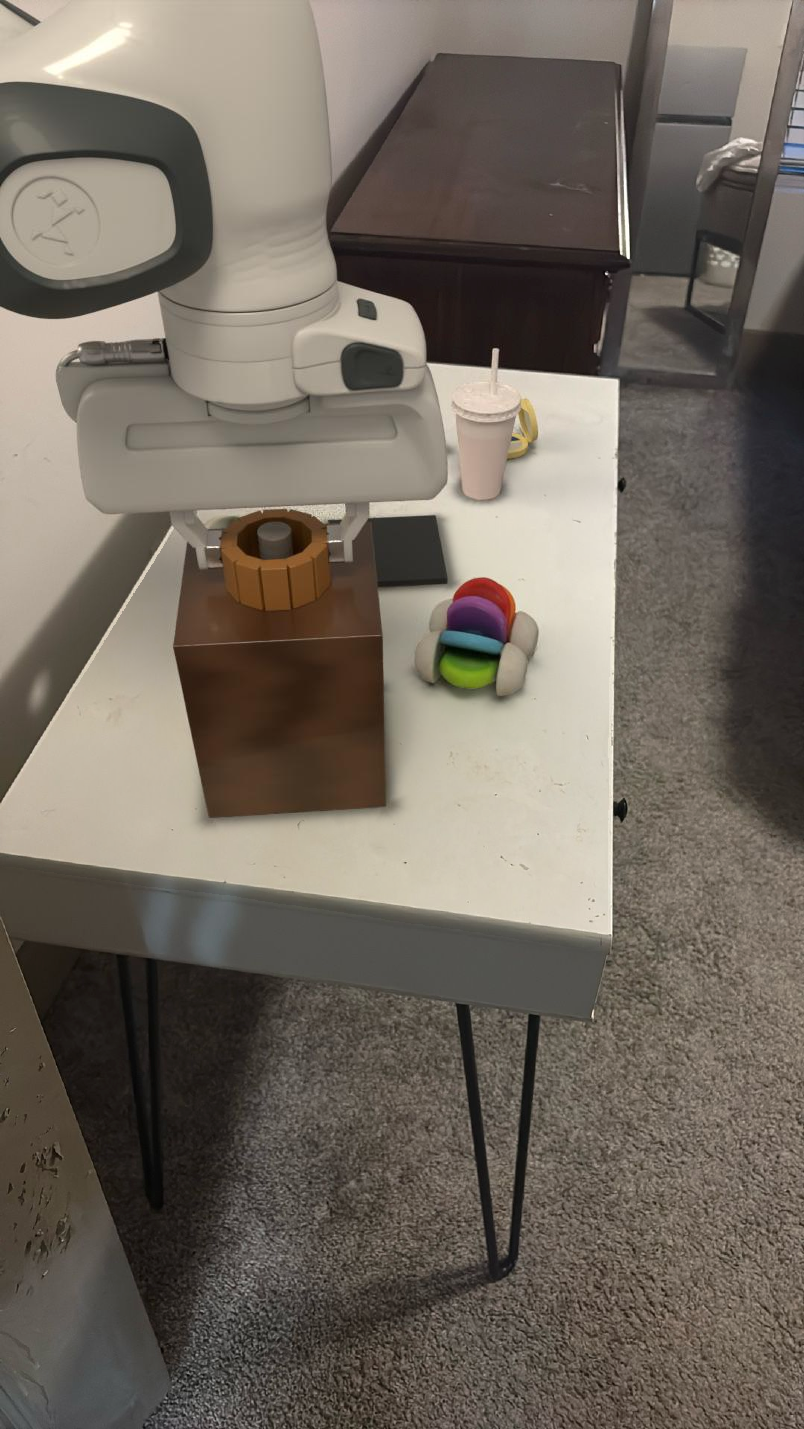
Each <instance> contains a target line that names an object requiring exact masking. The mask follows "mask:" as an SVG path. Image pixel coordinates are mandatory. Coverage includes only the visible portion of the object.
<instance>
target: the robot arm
mask: <svg viewBox="0 0 804 1429" xmlns="http://www.w3.org/2000/svg"><path fill="white" fill-rule="evenodd" d="M319 39H320V38H319V34H318V29H317V25H316V20H315V15H314V12H313V8H312V5H311V1H310V0H69V2H67V3H66V4H64V5H63V6H62V7H61V8H59V9H57V11H55V12H54V13H52V14H51V15H49V16H48V17H47V18H45V19H44V20H42V21H41V20H39V19H37V18H36V17H34V16H33V15H31V14H29V13H27V12H26V11H25V10H23V9H21V8H20V7H18V6H17V5H15V4H13V3H11V2H9V1H8V0H0V308H2V309H4V310H7V311H9V312H11V313H15V314H17V315H22V316H26V317H29V318H34V319H35V318H36V319H42V320H65V319H72V318H78V317H83V316H85V315H90V314H93V313H94V314H95V313H97V312H100V311H104V310H108V309H111V308H113V307H117V306H120V305H123V304H126V303H129V302H133V301H135V300H139V299H142V298H144V297H148V296H150V295H152V294H155V293H157V297H158V305H159V309H160V315H161V321H162V326H163V327H162V328H163V333H164V337H161V338H160V337H159V338H157V337H156V338H140V339H138V338H137V339H129V340H125V341H124V340H123V341H114V342H112V341H111V342H105V340H88V341H84V342H81V343H78V345H77V349H74V350H72V351H70V352H68V353H66V354H65V355H64V356H63V357H62V358H61V359H60V360H59V362H58V364H57V366H56V369H55V382H56V386H57V390H58V395H59V399H60V402H61V406H62V407H63V410H64V411H65V413H66V414H67V416H68V417H69V418H70V419H71V421H73V422H74V423H75V424H76V446H77V455H78V456H77V457H78V465H79V472H80V479H81V485H82V489H83V494H84V497H85V499H86V500H87V502H89V503H90V504H91V506H93V507H94V508H96V509H97V510H98V511H99V512H100V513H102V514H104V515H124V514H125V515H126V514H128V515H129V514H147V513H149V514H150V513H167V512H168V513H169V518H170V523H171V527H172V528H174V529H175V531H177V533H178V534H180V536H181V537H182V538H183V539H184V540H185V541H186V543H187V542H188V543H189V544H190V545H191V546H192V547H193V548H196V554H197V559H198V565H199V569H200V570H203V569H222V568H223V561H222V559H221V556H222V554H221V538H222V530H210V531H208V529H209V528H207V526H206V525H205V524H204V523H203V522H202V521H201V519H200V518H199V516H197V513H198V511H211V510H234V509H235V510H237V509H256V508H278V507H299V506H300V507H301V506H303V507H304V506H323V505H324V506H326V505H342V504H343V505H344V504H345V505H344V507H345V508H344V509H345V514H344V516H343V518H342V521H341V523H340V524H338V525H327V534H328V535H327V541H328V551H329V556H328V558H329V563H343V562H344V560H345V563H346V562H353V553H352V540H354V539H355V538H356V536H357V535H358V533H359V532H360V530H361V529H362V527H363V526H364V524H365V523H366V521H367V520H368V518H371V514H370V512H371V510H370V503H389V502H391V503H392V502H408V501H409V502H410V501H411V502H412V501H413V502H414V501H430V500H434V499H435V498H436V497H437V496H438V495H439V494H440V493H441V492H442V490H443V489H444V488H445V487H446V486H447V484H448V478H449V477H448V476H449V475H448V474H449V468H448V450H447V440H446V432H445V427H444V422H443V415H442V410H441V405H440V400H439V396H438V392H437V387H436V384H435V380H434V377H433V373H432V371H431V369H430V368H429V365H428V364H427V342H426V336H425V331H424V329H423V328H424V327H423V325H422V323H421V320H420V317H419V316H418V314H417V312H416V310H415V309H414V307H413V305H411V304H410V303H409V302H407V301H405V300H403V299H399V298H397V297H393V296H389V295H385V294H382V293H377V292H375V291H371V290H368V289H365V288H361V287H358V286H355V285H351V284H349V283H345V282H342V281H339V280H338V270H337V262H336V259H335V254H334V252H333V249H332V247H331V243H330V240H329V234H328V229H327V228H328V227H327V209H328V203H329V199H330V194H331V190H332V184H333V167H332V166H333V165H332V163H333V162H332V145H331V132H330V121H329V120H330V119H329V109H328V108H329V107H328V98H327V89H326V81H325V73H324V65H323V59H322V52H321V45H320V40H319ZM75 360H78V361H75Z"/></svg>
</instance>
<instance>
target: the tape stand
mask: <svg viewBox="0 0 804 1429" xmlns="http://www.w3.org/2000/svg"><path fill="white" fill-rule="evenodd" d="M323 524H324V525H325V526H326V527H327V525H338V524H340V523H329V524H328V523H323ZM226 528H227V527H223V528H221V527H220V528H207V529H208V531H210V530H222V534H223V531H224V530H225V529H226ZM257 535H258V543H259V551H260V559H262V560H272V559H286V558H288V557H291V556H293V545H292V534H291V528H290V527H289V525H287V524H285V523H282V522H269V523H266V524H263V525H262V526H260V527H259V529H258V531H257ZM184 553H185V554H184V559H183V560H184V562H183V569H182V576H181V583H180V590H179V596H178V605H177V613H176V622H175V629H174V634H173V635H174V636H173V641H172V642H173V644H172V649H173V654H174V659H175V664H176V668H177V673H178V677H179V683H180V686H181V692H182V697H183V701H184V706H185V711H186V716H187V721H188V725H189V726H188V727H189V730H190V735H191V740H192V745H193V750H194V754H195V759H196V764H197V768H198V774H199V780H200V783H201V788H202V793H203V798H204V802H205V807H206V812H207V817H208V818H224V817H225V818H226V817H239V816H240V817H241V816H242V817H243V816H255V815H256V816H257V815H271V814H288V813H289V814H290V813H303V812H305V813H307V812H321V811H336V810H337V811H338V810H353V809H355V810H356V809H369V808H385V807H387V776H386V774H387V773H386V772H387V771H386V770H387V769H386V727H385V726H386V725H385V722H386V721H385V717H386V716H385V676H384V675H385V674H384V673H385V672H384V669H385V668H384V634H383V633H384V632H383V624H382V613H381V604H380V596H379V595H380V594H379V587H378V584H377V574H376V565H375V555H374V546H373V536H372V526H371V522H366V523H365V524H364V526H363V527H362V529H361V530H360V532H359V533H358V535H357V536H356V538H355V539H354V540H352V553H353V562H346V563H345V560H344V562H343V563H330V569H331V583H330V586H329V587H328V588H327V589H326V590H325V592H324V593H323V594H322V595H321V596H320V597H319V598H315V599H316V600H315V601H313V602H310V603H308V604H305V605H303V606H300V607H298V608H293V607H292V606H291V610H276V611H266V610H265V608H264V609H263V610H259V609H256V608H252V607H249V606H246V605H243V604H241V602H237V601H236V600H235V598H234V597H233V596H232V595H231V594H230V593H229V592H228V591H227V588H226V585H225V578H224V572H223V568H222V569H203V570H200V569H199V565H198V559H197V554H196V548H193V547H192V546H191V545H190V544H189V543H188V542H187V541H186V546H185V552H184Z"/></svg>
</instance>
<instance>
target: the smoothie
mask: <svg viewBox="0 0 804 1429" xmlns="http://www.w3.org/2000/svg"><path fill="white" fill-rule="evenodd" d="M491 354H492V355H491V369H490V370H491V372H490V381H487V380H485V381H484V380H483V381H481V380H480V381H473V382H468V383H465V384H463V385H460V386H459V387H458V388H456V389H455V390H454V391H453V392H452V396H451V404H450V406H451V410H452V411H453V412H454V413H455V414H454V415H455V427H456V436H457V446H458V457H459V468H460V479H461V489H462V490H461V491H462V493H463V494H464V495H465V496H466V497H468V498H471V499H472V500H478V501H486V500H487V501H488V500H491V499H494V498H497V497H498V496H499V495H500V493H501V490H502V484H503V480H504V476H505V471H506V466H507V461H508V458H507V457H508V452H509V447H510V443H511V438H512V433H514V429H515V424H516V419H517V415H518V413H519V412H520V410H521V399H522V396H521V393H520V392H519V391H518V389H516V388H514V387H512V386H510V385H508V384H506V383H502V382H498V369H499V354H500V349H499V348H497V347H495V348H492V352H491Z"/></svg>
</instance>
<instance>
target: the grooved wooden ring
mask: <svg viewBox="0 0 804 1429" xmlns="http://www.w3.org/2000/svg"><path fill="white" fill-rule="evenodd" d="M269 522H282V523H285V524H287V525H289V527H290V528H291V534H292V545H293V556H291V557H288V558H286V559H272V560H262V559H260V551H259V543H258V535H257V531H258V529H259V527H260V526H262V525H263V524H266V523H269ZM324 524H325V523H323V522H322V521H321V520H320V519H319V518H317V517H316V516H315V515H312V514H311V513H308V512H303V511H300V510H297V509H289V510H288V509H287V508H273V509H271V508H270V509H263V510H262V511H261V510H257V511H253V512H251V513H248V514H245V515H242V516H239V517H238V519H234V521H232V522H231V523H230V524H229V525H228V526H227V527H225V528H226V529H225V530H224V531H223V534H222V538H221V554H222V556H221V559H222V561H223V572H224V578H225V585H226V588H227V591H228V592H229V593H230V594H231V595H232V596H233V597H234V598H235V600H236V601H237V602H241V604H243V605H246V606H249V607H252V608H256V609H259V610H263V609H264V608H265V610H266V611H276V610H291V606H292V607H293V608H298V607H300V606H303V605H305V604H308V603H310V602H313V601H315V600H316V599H315V598H319V597H320V596H321V595H322V594H323V593H324V592H325V590H326V589H327V588H328V587H329V586H330V583H331V569H330V563H329V558H328V556H329V551H328V541H327V535H328V534H327V527H326V526H325V525H324Z"/></svg>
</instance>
